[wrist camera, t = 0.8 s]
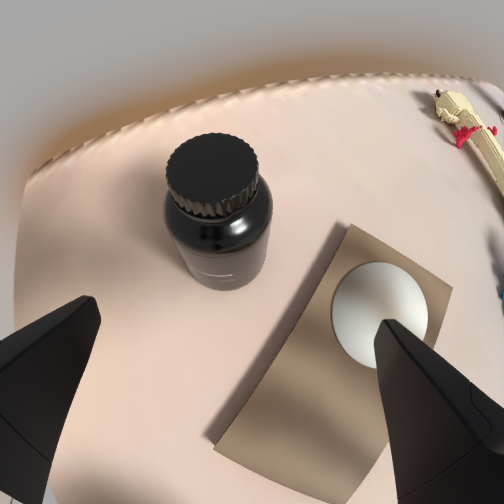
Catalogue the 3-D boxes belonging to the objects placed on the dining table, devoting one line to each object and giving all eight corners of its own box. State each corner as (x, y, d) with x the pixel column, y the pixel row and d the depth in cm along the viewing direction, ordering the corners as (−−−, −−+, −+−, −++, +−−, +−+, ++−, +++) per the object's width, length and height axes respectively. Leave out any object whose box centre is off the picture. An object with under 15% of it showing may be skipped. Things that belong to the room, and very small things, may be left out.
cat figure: (525, 228, 28) (451, 100, 36) (561, 205, 20) (473, 67, 27) (497, 243, 27) (414, 97, 35) (541, 217, 19) (436, 57, 26)
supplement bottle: (203, 305, 23) (160, 245, 12) (177, 236, 26) (133, 144, 15) (279, 274, 24) (302, 192, 13) (247, 209, 27) (245, 107, 16)
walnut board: (338, 502, 16) (343, 508, 15) (214, 445, 19) (212, 450, 17) (446, 291, 24) (453, 286, 22) (347, 229, 26) (351, 222, 25)
